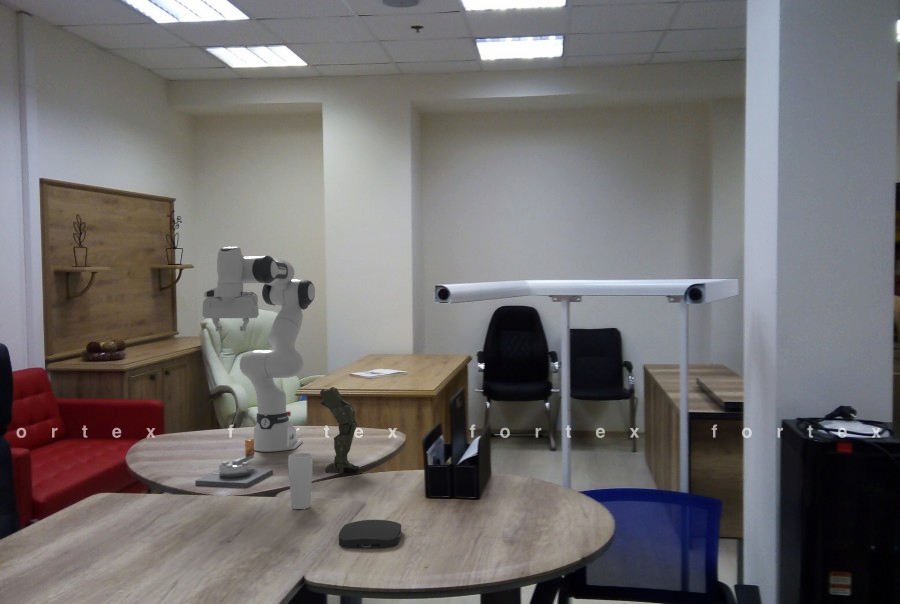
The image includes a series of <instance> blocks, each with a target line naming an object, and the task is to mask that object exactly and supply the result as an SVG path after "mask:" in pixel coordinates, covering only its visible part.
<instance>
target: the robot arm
mask: <svg viewBox="0 0 900 604" xmlns="http://www.w3.org/2000/svg"><path fill="white" fill-rule="evenodd" d="M216 259H217V260H216V273H217V284H216V287H215V288H212V289H208V290H206V291H204V292H203V295H204V298H205V299H203V302H202V317H203V318H204V319H212V324H213V325H214V327H215V332H222V330H223V326H222V325H220V324H219V322H220V319H242V322H243V323H242V325H241V326H239V331H240V332H247V326H248V325H249V322H250V319H257V318H258V317H259V314H260V313H259V311H260V310H259V306H258V302H259V300H258V297H259V296H258V295H257V294H256V293H254V292H253V291H249V292H248V291H244V284H263V285H262V290H261V294H262V295H261V296H262V300H263V301H264V302H265V304H267V305H270V306H275V307H276V306H281V308H280V311H279V312H278V313H277V315H276V317H275V319H274V321H273V323H272V326H271V328H270V330H269V332H268V334H267V341H268V343H269V345H270V346H271V347H272V348H273V349H255V350H249V351H246V352H244V353H243V354H242V355H241V356H240V359H239V369H240V372H241V373H242V374H243V375H244V376H246V377H247V379H248V380H249V381H250V382H251V384H252V386H253V387H254V391H255V393H256V400H257V401H256V403H257V413H256V425H255V426H254V427H253V438H252V439H254V451H256V452H262V453H263V452H267V453H269V452H271V453H272V452H281V451H289V450H290V451H291V450H295V449H297V448H298V447H299V446H300V445H301V444H302V443H303V442H304V441H303V439H301V438H297V437H298V436H297V435H298V434H297V429H296V427H295V426H294V425H293V424H292V422H290V421H289V420H290V419H289V418H290V417H291V415H292V412H291V411H290V410H289V411H287V394H286V392H285V390H284V389H283V388H281V387H280V386H278V385H277V384H276V383H275V380H274V379H288V378H292V377H297V376H299V375H300V374H301V373H302V371H303V368H304V359H303V356H302V355H301V353H299V351H297V350H296V346H295V345H296V341H297V338H298V337H299V336H298V335H299V333H300V330H301V327H302V323H303V318H304V317H303V311H305V310H306V309H308V307H309V306H310V305H311V304H312V302H313V301H314V299H315V296H316V290H315V286H314V284H313V282H312V281H311V280H308V279H302V278H301V279H297V278H296V279H294V277H295V269H294V267H293V265H292V264H291V263H290V262H289V261H286V260H285V259H281V258H278V257H277V258H276V257H272V256H271V255H262V256H261V255H260V256H245V255H243V254H242V248H241V247H240V246H224V247H221V248H219V250H218V252H217V258H216Z"/></svg>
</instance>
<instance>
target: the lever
mask: <svg viewBox="0 0 900 604" xmlns="http://www.w3.org/2000/svg"><path fill="white" fill-rule="evenodd" d="M244 449H245V450H244V455H243V456H241V457H239V458H236V459H233V460H232V461H230V462H229V461H222V462H221V464H219V466H218V470H219V476H220V477H225V478H236V477H243V476H247V475H249V474H251V469H252V464H251V462H248V461H250V460H252V459H254V458H255V450H254V439H253V438H252V439H251V438H248V439H245V440H244Z"/></svg>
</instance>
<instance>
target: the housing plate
mask: <svg viewBox="0 0 900 604" xmlns="http://www.w3.org/2000/svg"><path fill="white" fill-rule="evenodd" d="M273 474H274V469H270V468H268V469H267V468H251V474H249V475H247V476H243V477H236V478H225V477H220V476H219V469H218V470H216V471H214V472H211V473H208V474H206V475H205V476H202V477H200V478H198V479H196V480H195V481H194V482H195V486H202V487H205V486H206V487H220V488H221V487H222V488H223V487H224V488H244V489H246V488H247V489H248V488H249V487H251V486H252V485H255V484H257V483H259V482H260V481H262V480H264V479H266V478H268V477H270V476H271V475H273Z"/></svg>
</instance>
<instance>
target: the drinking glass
mask: <svg viewBox="0 0 900 604" xmlns="http://www.w3.org/2000/svg"><path fill="white" fill-rule="evenodd" d="M287 459H288V460H287V461H288V462H287V469H288V480H289V491H290V501H291V502H290V503H291V506H290V507H291V509H293V510H295V509H304V508H307V509H309V508H310V507H311V502H312V501H311V497H312V496H311V495H312V484H313V483H312V482H313V469H314V468H313V465H314V463H313V454H312V453H309V452H295V453H291V454H289V455H288V458H287ZM308 507H309V508H308ZM304 510H305V509H304Z"/></svg>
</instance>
